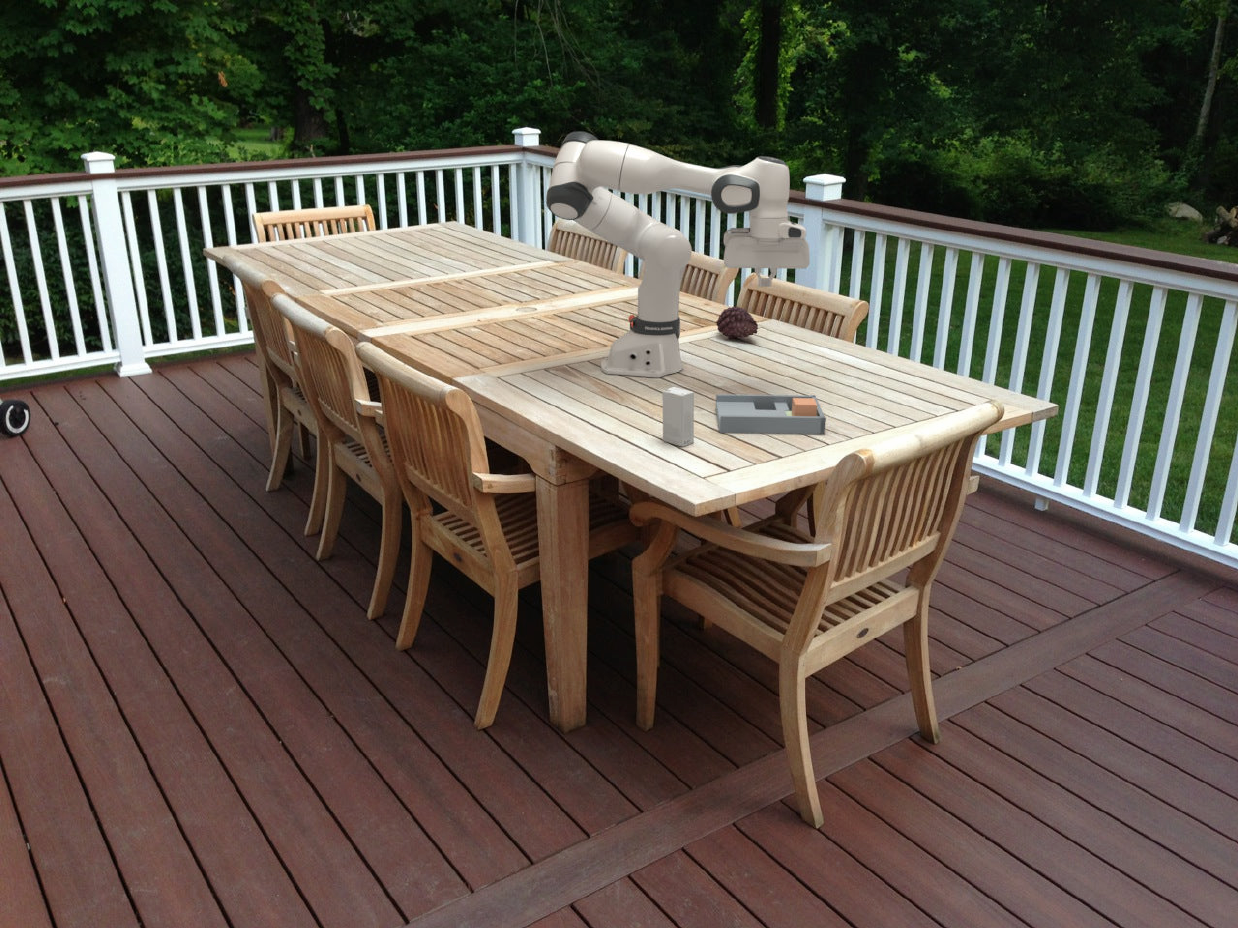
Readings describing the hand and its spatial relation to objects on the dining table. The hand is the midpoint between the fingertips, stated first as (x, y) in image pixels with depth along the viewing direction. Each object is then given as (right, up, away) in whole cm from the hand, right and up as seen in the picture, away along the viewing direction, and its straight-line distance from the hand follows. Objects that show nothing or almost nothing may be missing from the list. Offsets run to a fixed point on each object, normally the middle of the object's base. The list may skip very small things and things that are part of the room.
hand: (764, 286), depth 262 cm
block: (+8, -32, -7) cm, 34 cm away
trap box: (0, -33, -3) cm, 33 cm away
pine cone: (0, -5, +66) cm, 66 cm away
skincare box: (-22, -38, -17) cm, 47 cm away
